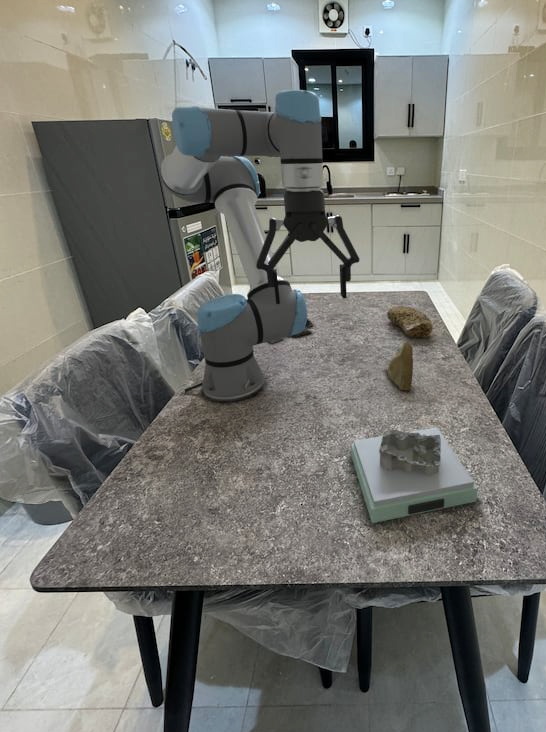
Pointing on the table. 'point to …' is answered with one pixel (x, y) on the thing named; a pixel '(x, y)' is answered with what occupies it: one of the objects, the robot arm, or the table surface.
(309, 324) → the cloth
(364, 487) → the scale
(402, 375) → the rock
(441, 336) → the table surface
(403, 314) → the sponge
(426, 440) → the egg carton
